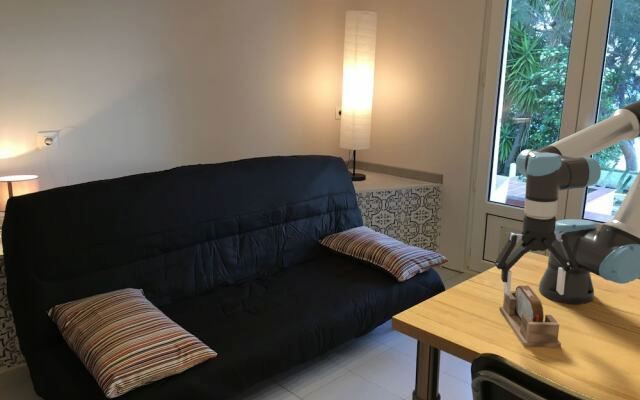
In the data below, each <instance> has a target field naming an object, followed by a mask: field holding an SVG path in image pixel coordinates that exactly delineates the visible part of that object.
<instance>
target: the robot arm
mask: <svg viewBox="0 0 640 400" xmlns="http://www.w3.org/2000/svg"><path fill="white" fill-rule="evenodd" d="M637 138H640V100H638V101H635V102H632V103H629V104H627V105H625V106H623V107H620V108H619V109H617V110H615V111H613V113H612V114H611V116H610V117H607V118H605V119H603V120H601V121H598V122H596V123H594V124H592V125H590V126H588V127H585V128H583V129H581V130H579V131H577V132H575V133H573V134H570V135H568V136H566V137H564V138H561V139H560V140H557V141H555V142H553V143H551V144H549V145H546V146H544V147H542V148H538V149H537V150H536V149H534V148H533V149H531V148H530V149H529V148H528V149H526V148H525V149H524V150H522V151H521V152H520V153H519V154H518V155H517V158H516V161H515V167H516V169H517V172H518V173H520V174H521V175H523V176H525V178H526V181H525V195H524V208H523V209H524V210H523V211H524V215H523V218H522V219H523V220H522V221H523V222H522V231H521V233H514V232H513V231H511V232H509V235H508V238H507V241H506V243H505V245H504V247H503V248H502V250H501V252H500V253H499V255H498V256H497V258H496V260H495V262H494V266H495V267H496V268H497V269H498V270H501V275H500V279H501V281H502V283H504V285H503V292H505V293H506V295H510V291H511V287H512V273H513V272H512V270H511V268H512V267H513V266H515V265H516V263H517V262H519V260H520V259H521V258H522V257H523V256H525V254H528V253H529V252H530V251H531V252H538V251H539V252H545V251H546V250H548V262H547V266H546V269H545V271H544V273H543V275H542V276H541V279H540V280H539V284H538V292H540V294H541V295H542V296H544V297H546V298H548V299H550V300H552V301H556V302H560V303H563V304H564V303H565V304H574V305H581V304H587V303H591V302H592V301H593V300H594V295H595V289H594V285H593V280H592V276H591V275H592V274H593V275H596V276H598V277H601V278H603V279H604V280H606V281H611V282H613V283H616V284H620V285H621V284H628V283H630V282H634V281H635V280H637V279H638V278H639V277H640V171H638V174H637V175H636V177H635V179H634V180H633V183H632V184H631V186H630V187H629V190H628V191H627V193H626V195H625V196H624V198H623V200H622V201H621V203H620V206H619V207H618V209H617V211H616V213H615V214H614V217H612V220H610V221H607V222H604V223H603V224H602V225H601V227H600V228H599V230H597V228H598V227H597V223H596V222H595V221H593V220H589V219H577V218H576V219H573V218H572V219H571V218H570V219H567V218H566V219H561V220H557V218H556V216H557V213H558V201H559V200H558V199H559V192H560V191H564V190H565V191H566V190H573V189H585V188H586V187H591V186H594V185H596V184H597V183H598V182H599V181H600V179H601V175H602V169H601V166H600V164H599V162H598V160H596V159H595V158H593V157H590V156H592V155H594V154H596V153H599V152H601V151H603V150H605V149H607V148H609V147H611V146H613V145H616V144H618V143H620V142H621V141H633V140H635V139H637ZM520 241H522V242H521V243H520V244H519V245H518V248H516V250H515V251H514V252H513V250H514V248H515V247H516V244H517V243H519V242H520ZM512 252H513V253H512ZM511 253H512V254H511ZM591 273H592V274H591Z"/></svg>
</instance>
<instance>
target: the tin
mask: <svg viewBox="0 0 640 400" xmlns="http://www.w3.org/2000/svg"><path fill="white" fill-rule="evenodd" d="M515 291H516V292H515V299H516V302H515V309H516V312H517V314H518V315H519V317H520V318H522V314H528V316H529V317H530V318H531V320H532V321H533V322H544V319H545V314H544V307H543V304H542V300H541V299H540V298H539V296H538V295H537V294H536V292H534V290H533V289H532V288H531V286H530V285H528V284H527V285H517V287H515Z"/></svg>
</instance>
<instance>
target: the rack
mask: <svg viewBox="0 0 640 400" xmlns="http://www.w3.org/2000/svg"><path fill="white" fill-rule="evenodd" d="M503 292H504V291H503ZM515 292H516V290H510V295H506V293H505V292H504V294H503V303H502V306H500V307H499V311H500V313H501V315H502V316H503V318H504V320H506V322H507V324H508V326H509V327H510V329H511V330H512V331H513V333H514V335H515V336H516V338H517V339H518V340H519V342H520V343H521V345H522V346H523V347H525V348H526V347H527V348H561V346H562V343H561V342H560V341H559V333H560V332H559V331H560V323H559V322H558V321H557V320H556V319H555V317H553V315H552V314H544V321H543V322H533V321H532V320H531V318H530V317H529V316H528V314H522V318H520V317H519V315H518V314H517V312H516V309H515V302H516V299H515Z"/></svg>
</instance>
